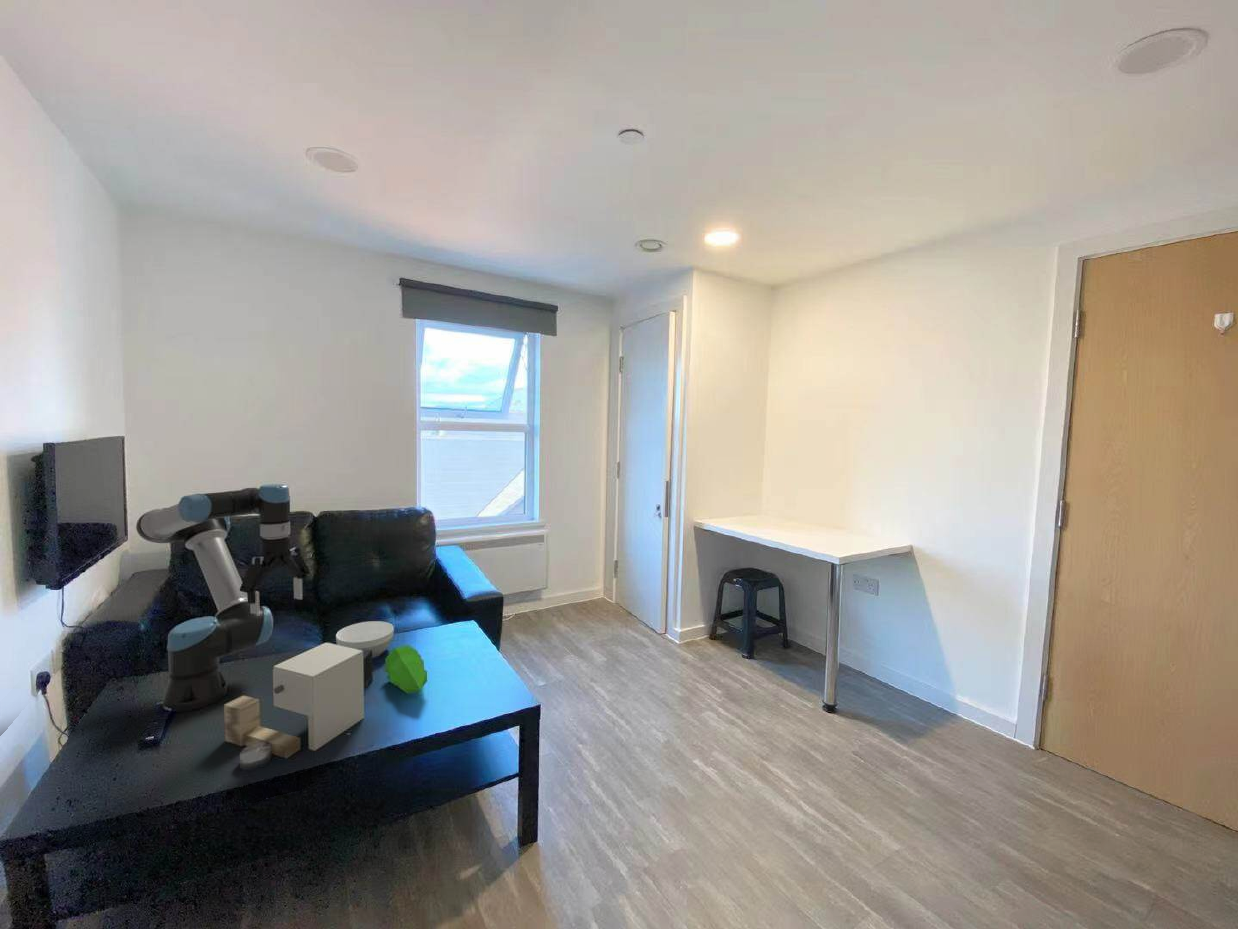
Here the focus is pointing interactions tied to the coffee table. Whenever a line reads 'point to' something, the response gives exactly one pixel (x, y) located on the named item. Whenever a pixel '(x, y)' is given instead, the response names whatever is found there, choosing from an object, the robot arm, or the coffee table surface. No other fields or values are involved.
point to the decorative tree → (406, 669)
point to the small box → (367, 667)
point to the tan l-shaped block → (255, 728)
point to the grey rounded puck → (255, 755)
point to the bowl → (366, 636)
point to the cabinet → (322, 689)
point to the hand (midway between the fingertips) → (277, 605)
